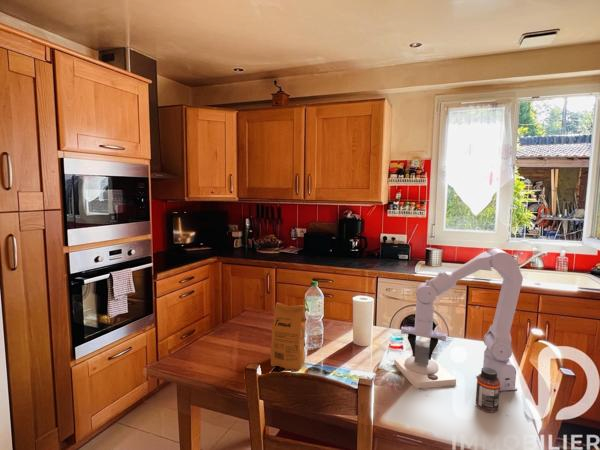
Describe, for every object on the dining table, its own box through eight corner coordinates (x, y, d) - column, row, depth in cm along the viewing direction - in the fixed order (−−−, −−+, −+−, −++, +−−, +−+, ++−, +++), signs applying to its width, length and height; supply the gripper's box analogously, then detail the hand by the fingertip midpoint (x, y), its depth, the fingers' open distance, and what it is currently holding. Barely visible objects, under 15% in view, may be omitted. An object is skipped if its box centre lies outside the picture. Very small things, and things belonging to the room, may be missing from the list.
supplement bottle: (478, 398, 108) (480, 363, 107) (500, 406, 105) (503, 369, 104) (472, 407, 104) (475, 370, 103) (495, 416, 100) (498, 377, 99)
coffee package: (276, 354, 135) (277, 297, 133) (308, 359, 131) (309, 301, 129) (266, 366, 126) (266, 306, 123) (299, 373, 122) (300, 310, 120)
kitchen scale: (455, 385, 116) (456, 376, 115) (415, 388, 113) (416, 380, 113) (429, 361, 131) (430, 354, 131) (394, 363, 129) (394, 356, 129)
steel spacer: (429, 359, 125) (430, 342, 124) (428, 365, 121) (429, 348, 120) (415, 356, 126) (416, 340, 126) (414, 362, 122) (415, 345, 122)
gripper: (447, 318, 123) (445, 356, 124) (403, 311, 128) (402, 348, 130) (446, 325, 116) (444, 365, 118) (400, 318, 122) (399, 356, 123)
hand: (421, 356), depth 123 cm, fingers closed on steel spacer, 4 cm apart
